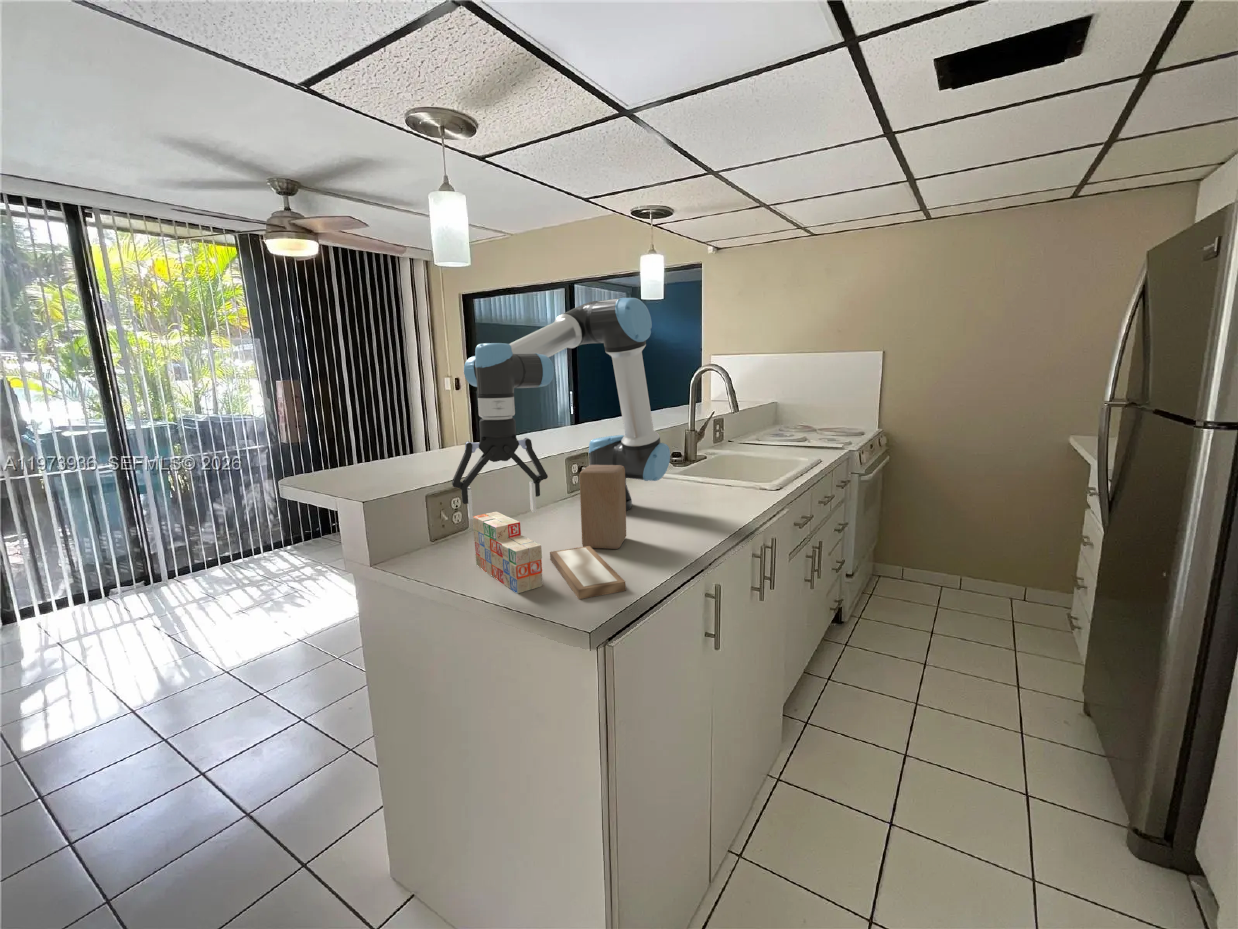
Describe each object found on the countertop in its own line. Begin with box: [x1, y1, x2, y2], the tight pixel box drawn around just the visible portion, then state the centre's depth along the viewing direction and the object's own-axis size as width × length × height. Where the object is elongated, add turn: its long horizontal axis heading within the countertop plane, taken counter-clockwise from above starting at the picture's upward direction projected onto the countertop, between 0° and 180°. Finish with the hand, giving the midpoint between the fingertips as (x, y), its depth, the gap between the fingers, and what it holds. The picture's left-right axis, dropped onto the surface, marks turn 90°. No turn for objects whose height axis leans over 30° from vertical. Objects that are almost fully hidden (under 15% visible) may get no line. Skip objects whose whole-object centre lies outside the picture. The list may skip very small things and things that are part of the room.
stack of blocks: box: [471, 511, 544, 594], centre depth 119 cm, size 21×6×12 cm, turn 37°
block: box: [578, 465, 627, 550], centre depth 138 cm, size 10×10×20 cm
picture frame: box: [549, 546, 627, 600], centre depth 120 cm, size 10×24×2 cm, turn 21°
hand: (502, 514), depth 118 cm, fingers open, 13 cm apart
